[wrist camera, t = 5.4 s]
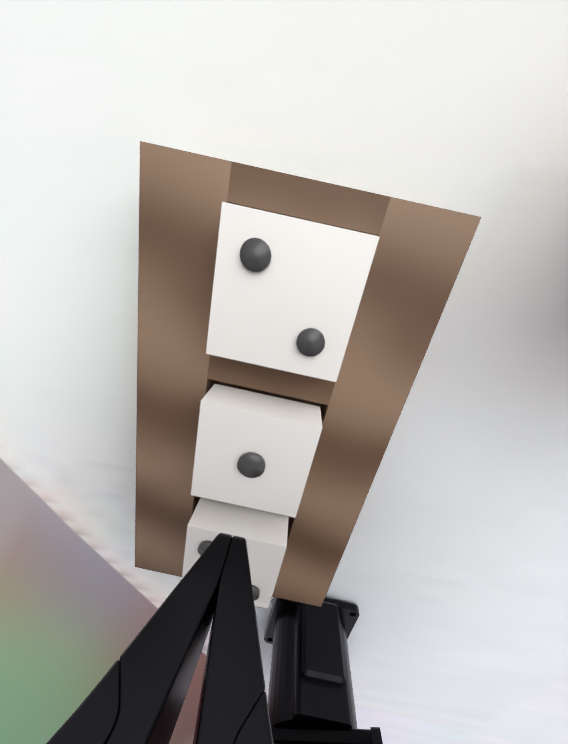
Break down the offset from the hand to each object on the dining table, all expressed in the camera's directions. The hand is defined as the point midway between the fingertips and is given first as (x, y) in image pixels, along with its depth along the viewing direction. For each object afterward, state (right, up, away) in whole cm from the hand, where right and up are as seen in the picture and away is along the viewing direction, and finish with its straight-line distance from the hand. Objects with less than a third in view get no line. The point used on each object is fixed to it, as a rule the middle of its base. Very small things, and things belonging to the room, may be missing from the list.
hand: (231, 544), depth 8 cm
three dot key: (-1, -4, +7) cm, 9 cm away
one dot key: (0, +2, +5) cm, 5 cm away
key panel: (+1, +3, +8) cm, 8 cm away
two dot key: (+2, +8, +3) cm, 9 cm away
